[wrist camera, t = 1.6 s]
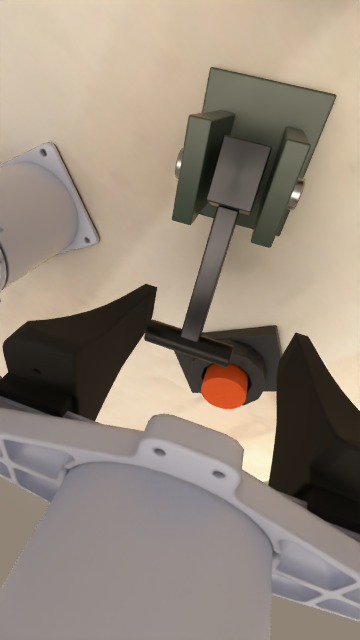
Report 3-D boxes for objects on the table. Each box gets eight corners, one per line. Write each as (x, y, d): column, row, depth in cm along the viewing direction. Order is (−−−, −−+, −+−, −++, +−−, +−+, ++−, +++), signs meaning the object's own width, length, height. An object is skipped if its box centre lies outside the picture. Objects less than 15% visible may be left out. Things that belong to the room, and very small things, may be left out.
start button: (212, 392, 30) (207, 409, 28) (200, 362, 28) (195, 378, 26) (252, 392, 28) (250, 409, 27) (243, 360, 26) (240, 377, 25)
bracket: (279, 231, 22) (276, 286, 15) (187, 205, 22) (148, 248, 16) (334, 95, 17) (365, 92, 10) (214, 68, 17) (172, 49, 11)
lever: (227, 358, 18) (225, 376, 16) (151, 333, 19) (139, 346, 17) (295, 165, 15) (305, 153, 13) (200, 141, 15) (193, 126, 13)
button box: (194, 384, 34) (188, 405, 31) (174, 336, 30) (165, 355, 28) (288, 382, 30) (288, 406, 27) (276, 325, 26) (275, 347, 24)
